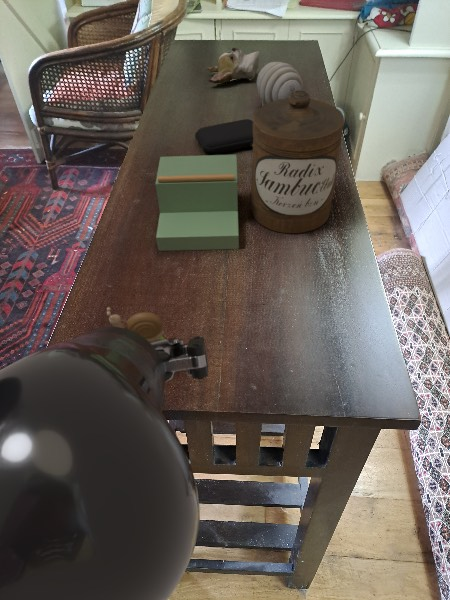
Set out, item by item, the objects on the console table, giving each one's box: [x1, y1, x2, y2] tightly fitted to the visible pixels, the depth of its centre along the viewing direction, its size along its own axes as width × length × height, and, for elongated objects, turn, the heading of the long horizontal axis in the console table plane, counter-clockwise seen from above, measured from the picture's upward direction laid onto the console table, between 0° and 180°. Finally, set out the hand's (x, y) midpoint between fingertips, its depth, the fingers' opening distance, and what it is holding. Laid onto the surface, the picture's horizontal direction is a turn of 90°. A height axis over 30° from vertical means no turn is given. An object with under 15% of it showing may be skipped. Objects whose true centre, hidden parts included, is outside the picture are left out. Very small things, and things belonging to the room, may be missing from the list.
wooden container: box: [250, 90, 345, 234], centre depth 79 cm, size 15×15×22 cm
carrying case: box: [194, 118, 253, 155], centre depth 103 cm, size 11×3×15 cm
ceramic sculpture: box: [205, 47, 261, 84], centre depth 126 cm, size 11×9×15 cm
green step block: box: [155, 154, 240, 252], centre depth 81 cm, size 14×16×10 cm
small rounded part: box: [106, 306, 165, 341], centre depth 59 cm, size 5×6×12 cm
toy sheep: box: [256, 61, 304, 107], centre depth 111 cm, size 11×17×11 cm, turn 31°
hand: (129, 355), depth 44 cm, fingers open, 8 cm apart
